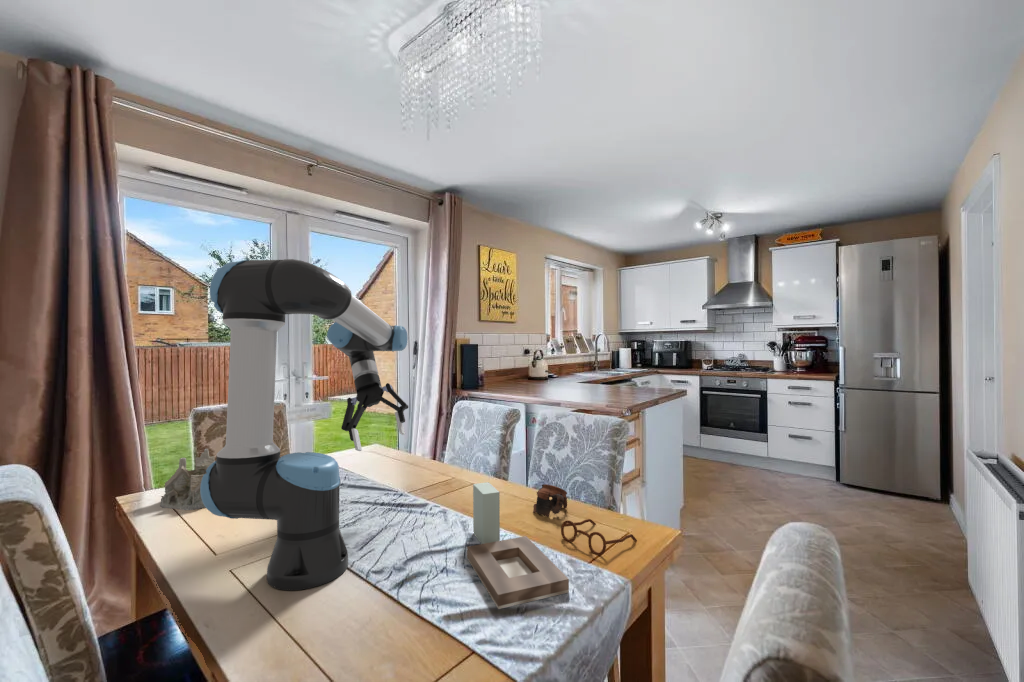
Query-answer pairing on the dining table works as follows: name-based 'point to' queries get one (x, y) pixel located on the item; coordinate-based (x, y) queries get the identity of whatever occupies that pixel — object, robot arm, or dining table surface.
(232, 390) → the robot arm
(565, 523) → the glasses
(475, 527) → the grey-green rectangular block
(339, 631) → the dining table surface
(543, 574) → the taupe picture frame
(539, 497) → the brown piece
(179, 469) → the ceramic cottage
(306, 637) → the dining table surface
